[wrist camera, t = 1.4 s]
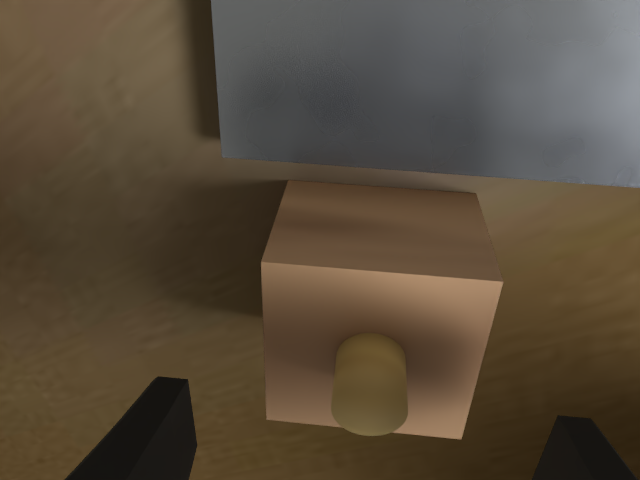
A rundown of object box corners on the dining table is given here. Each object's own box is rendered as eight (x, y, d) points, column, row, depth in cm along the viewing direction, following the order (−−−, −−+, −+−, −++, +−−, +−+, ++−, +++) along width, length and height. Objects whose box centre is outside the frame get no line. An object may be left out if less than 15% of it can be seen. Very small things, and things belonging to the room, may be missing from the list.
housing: (445, 332, 17) (469, 494, 12) (288, 318, 17) (254, 471, 13) (475, 191, 14) (519, 331, 10) (288, 178, 15) (245, 307, 10)
